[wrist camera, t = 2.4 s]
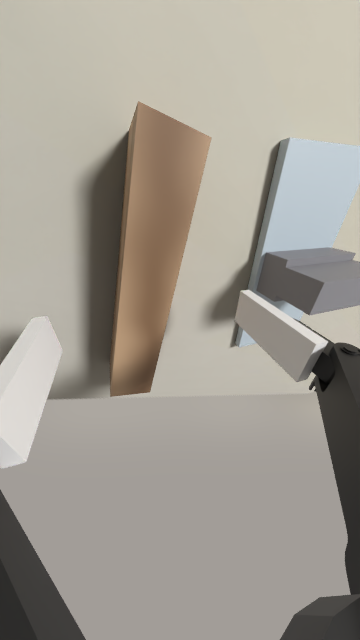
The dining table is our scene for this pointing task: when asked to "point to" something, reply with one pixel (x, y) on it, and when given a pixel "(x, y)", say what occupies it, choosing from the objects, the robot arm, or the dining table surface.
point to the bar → (152, 240)
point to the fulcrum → (307, 232)
